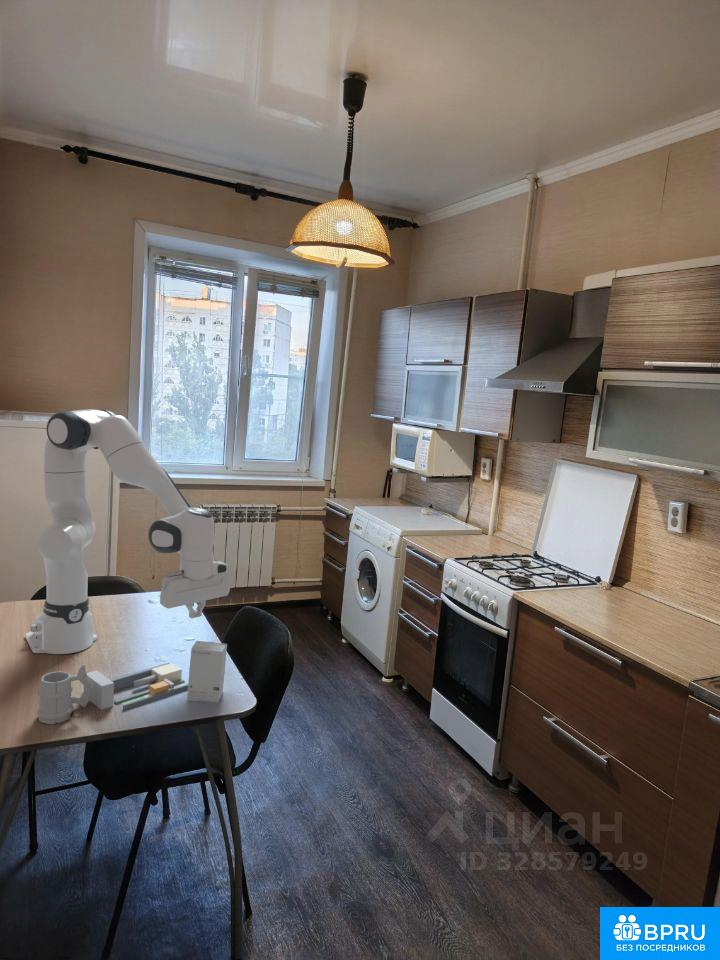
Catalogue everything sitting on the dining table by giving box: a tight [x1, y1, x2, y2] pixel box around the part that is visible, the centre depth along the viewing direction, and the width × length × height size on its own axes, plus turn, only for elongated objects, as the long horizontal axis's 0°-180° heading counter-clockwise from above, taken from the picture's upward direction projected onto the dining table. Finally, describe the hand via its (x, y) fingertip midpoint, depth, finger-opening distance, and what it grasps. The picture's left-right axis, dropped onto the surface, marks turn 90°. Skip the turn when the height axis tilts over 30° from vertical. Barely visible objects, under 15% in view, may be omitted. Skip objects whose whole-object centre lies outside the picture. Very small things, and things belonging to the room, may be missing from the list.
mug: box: [36, 663, 92, 725], centre depth 149 cm, size 8×12×12 cm, turn 121°
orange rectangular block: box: [148, 681, 169, 696], centre depth 160 cm, size 3×4×2 cm, turn 138°
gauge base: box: [87, 662, 188, 711], centre depth 163 cm, size 17×26×7 cm, turn 138°
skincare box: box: [186, 640, 228, 703], centre depth 161 cm, size 8×6×15 cm
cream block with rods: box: [133, 662, 183, 689], centre depth 164 cm, size 10×12×3 cm
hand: (195, 617), depth 172 cm, fingers closed
